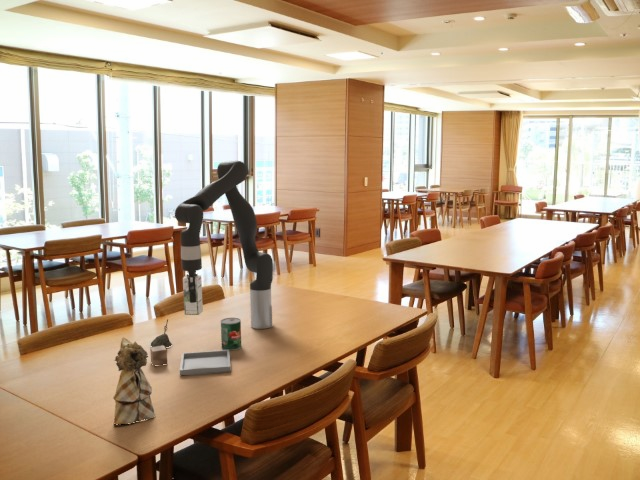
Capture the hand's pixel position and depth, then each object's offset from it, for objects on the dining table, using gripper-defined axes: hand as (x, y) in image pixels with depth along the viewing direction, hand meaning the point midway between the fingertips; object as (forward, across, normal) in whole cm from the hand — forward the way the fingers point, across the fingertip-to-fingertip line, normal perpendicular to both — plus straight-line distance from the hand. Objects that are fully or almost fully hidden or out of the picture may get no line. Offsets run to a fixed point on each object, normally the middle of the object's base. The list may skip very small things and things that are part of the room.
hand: (193, 299), depth 227 cm
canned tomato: (+22, +5, -14) cm, 26 cm away
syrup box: (+5, 0, 0) cm, 5 cm away
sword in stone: (+22, +12, +14) cm, 29 cm away
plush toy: (+22, -51, +16) cm, 58 cm away
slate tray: (+22, -13, -4) cm, 25 cm away
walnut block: (+22, -8, +13) cm, 26 cm away
